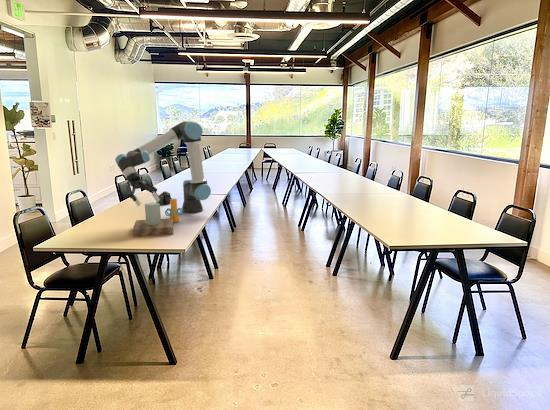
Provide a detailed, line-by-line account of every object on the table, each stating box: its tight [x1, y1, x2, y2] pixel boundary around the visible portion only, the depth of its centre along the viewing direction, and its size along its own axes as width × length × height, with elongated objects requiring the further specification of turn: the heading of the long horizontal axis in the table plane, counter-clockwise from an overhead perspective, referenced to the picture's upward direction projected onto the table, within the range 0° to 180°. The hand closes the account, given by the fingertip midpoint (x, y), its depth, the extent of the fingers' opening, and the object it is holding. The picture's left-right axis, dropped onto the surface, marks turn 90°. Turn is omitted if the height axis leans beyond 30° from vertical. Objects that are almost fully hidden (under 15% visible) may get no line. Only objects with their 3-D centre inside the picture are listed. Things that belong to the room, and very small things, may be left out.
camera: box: [155, 190, 173, 206], centre depth 307 cm, size 13×10×10 cm
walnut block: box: [132, 217, 174, 238], centre depth 230 cm, size 22×22×5 cm
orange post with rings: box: [164, 198, 184, 223], centre depth 250 cm, size 12×10×15 cm
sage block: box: [144, 202, 162, 225], centre depth 227 cm, size 6×6×12 cm
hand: (149, 203), depth 228 cm, fingers open, 13 cm apart
